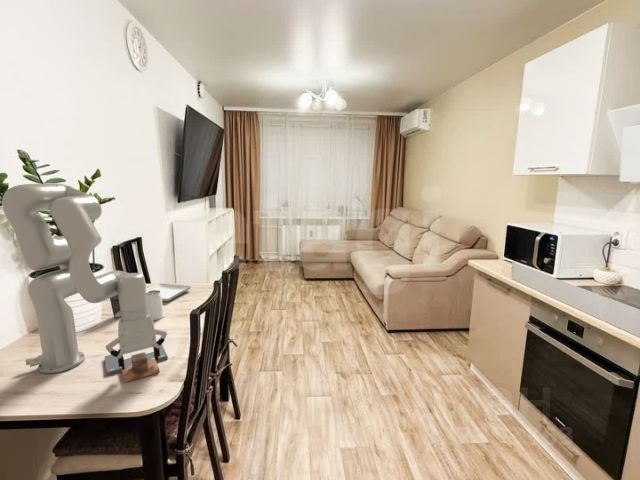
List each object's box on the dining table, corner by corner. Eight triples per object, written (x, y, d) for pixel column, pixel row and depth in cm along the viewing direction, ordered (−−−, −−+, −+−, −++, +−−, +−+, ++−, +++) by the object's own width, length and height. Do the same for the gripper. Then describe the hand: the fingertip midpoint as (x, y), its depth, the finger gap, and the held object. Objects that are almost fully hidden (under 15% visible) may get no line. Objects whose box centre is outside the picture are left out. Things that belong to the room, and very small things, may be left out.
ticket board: (107, 375, 110) (106, 371, 110) (104, 359, 120) (104, 356, 119) (167, 358, 120) (167, 355, 120) (161, 345, 130) (160, 342, 129)
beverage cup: (116, 320, 152) (111, 276, 148) (107, 317, 155) (102, 274, 152) (132, 315, 158) (127, 272, 154) (123, 312, 161) (119, 270, 158)
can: (144, 319, 153) (141, 293, 151) (156, 314, 159) (153, 289, 157) (155, 321, 151) (152, 295, 149) (166, 316, 157) (164, 290, 154)
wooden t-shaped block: (124, 382, 106) (122, 367, 105) (121, 371, 112) (120, 356, 111) (159, 372, 112) (158, 357, 111) (155, 362, 117) (154, 348, 117)
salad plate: (192, 291, 192) (192, 285, 191) (168, 304, 172) (167, 298, 171) (159, 288, 197) (159, 282, 196) (131, 301, 176) (131, 294, 176)
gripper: (102, 323, 100) (109, 377, 103) (166, 310, 110) (171, 360, 113) (101, 315, 106) (107, 366, 109) (162, 303, 116) (166, 350, 119)
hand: (140, 363), depth 111 cm, fingers open, 9 cm apart
